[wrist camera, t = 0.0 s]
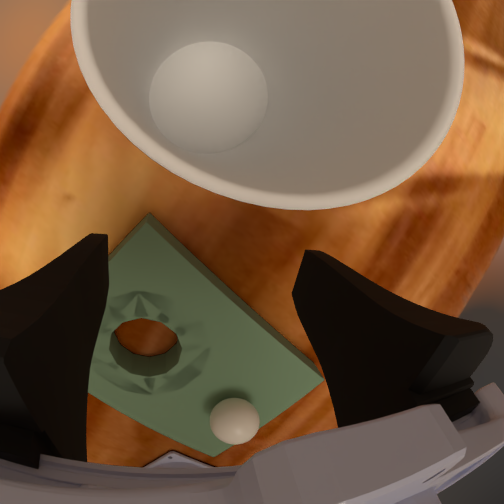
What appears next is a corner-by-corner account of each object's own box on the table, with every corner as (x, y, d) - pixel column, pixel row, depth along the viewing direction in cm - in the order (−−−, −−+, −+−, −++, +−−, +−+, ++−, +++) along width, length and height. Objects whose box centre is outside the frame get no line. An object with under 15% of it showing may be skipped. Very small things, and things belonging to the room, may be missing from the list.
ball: (228, 423, 25) (238, 458, 22) (196, 406, 24) (202, 443, 20) (262, 400, 25) (275, 434, 22) (231, 380, 24) (241, 417, 20)
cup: (119, 101, 17) (-11, 15, 3) (211, 18, 16) (298, -153, 2) (208, 183, 21) (301, 300, 6) (293, 100, 20) (500, 69, 5)
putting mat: (313, 363, 28) (324, 379, 26) (210, 439, 29) (213, 457, 27) (149, 212, 20) (146, 221, 18) (42, 335, 21) (33, 353, 19)
